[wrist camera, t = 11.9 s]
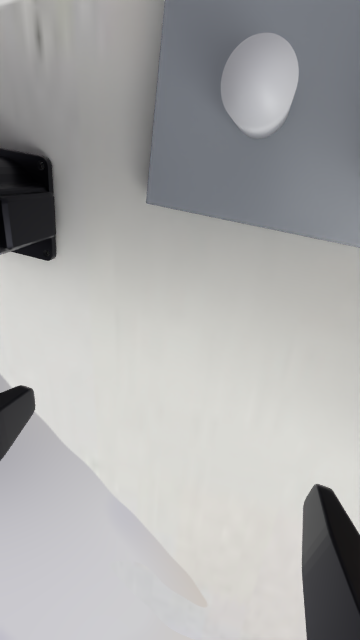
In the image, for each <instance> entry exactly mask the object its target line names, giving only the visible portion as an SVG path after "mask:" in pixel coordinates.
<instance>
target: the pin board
mask: <svg viewBox="0 0 360 640" xmlns="http://www.w3.org/2000/svg"><path fill="white" fill-rule="evenodd" d="M146 203H147V204H152V205H157V206H162V207H167V208H171V209H176V210H181V211H186V212H191V213H195V214H200V215H205V216H210V217H215V218H220V219H224V220H229V221H234V222H239V223H244V224H248V225H253V226H258V227H263V228H268V229H273V230H277V231H282V232H287V233H292V234H297V235H301V236H306V237H311V238H316V239H321V240H326V241H330V242H335V243H340V244H345V245H350V246H354V247H359V248H360V0H165V6H164V17H163V27H162V38H161V49H160V60H159V70H158V81H157V92H156V103H155V113H154V124H153V135H152V146H151V156H150V167H149V178H148V189H147V199H146Z"/></svg>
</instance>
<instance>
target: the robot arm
mask: <svg viewBox="0 0 360 640" xmlns="http://www.w3.org/2000/svg"><path fill="white" fill-rule="evenodd" d="M42 162H43V164H44V169H43V168H42V166H41V163H42ZM55 234H56V227H55V206H54V196H53V177H52V164H51V162H50V160H49V159H48V158H47V157H44V156H39V155H34V154H29V153H24V152H18V151H13V150H8V149H3V148H0V255H1V254H4V253H7V252H10V251H11V252H15V253H19V254H23V255H27V256H31V257H35V258H39V259H43V260H47V261H49V260H52V259H54V258H55V257H56V240H55ZM47 251H48V252H49V254H50V255H48V254H47ZM34 410H35V398H34V391H33V389H32V388H29V387H26V386H22V385H20V386H17V387H14V388H12V389H9V390H7V391H4V392H2V393H0V460H1V459H2V458H3V457H4V455H5V454H6V453H7V451H8V450H9V449H10V447H11V446H12V444H13V443H14V441H15V440H16V438H17V437H18V435H19V434H20V432H21V430H22V429H23V428H24V426H25V425H26V423H27V422H28V420H29V419H30V418H31V416H32V414H33V413H34ZM302 580H303V593H304V606H305V619H306V632H307V640H360V534H359V533H358V531H357V529H356V528H355V526H354V525H353V523H352V521H351V520H350V518H349V516H348V515H347V513H346V511H345V510H344V508H343V507H342V505H341V503H340V502H339V500H338V498H337V497H336V495H335V493H334V492H333V491H332V489H330V488H328V487H325V486H323V485H320V484H315V485H314V486H313V488H312V489H311V491H310V493H309V494H308V496H307V498H306V499H305V502H304V506H303V538H302Z"/></svg>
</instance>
